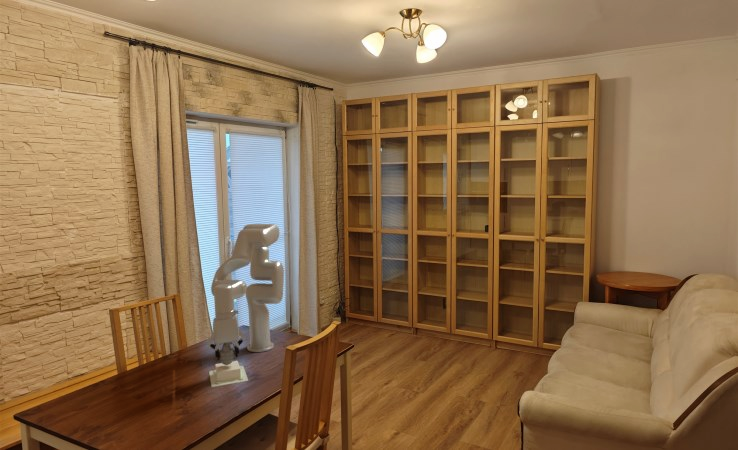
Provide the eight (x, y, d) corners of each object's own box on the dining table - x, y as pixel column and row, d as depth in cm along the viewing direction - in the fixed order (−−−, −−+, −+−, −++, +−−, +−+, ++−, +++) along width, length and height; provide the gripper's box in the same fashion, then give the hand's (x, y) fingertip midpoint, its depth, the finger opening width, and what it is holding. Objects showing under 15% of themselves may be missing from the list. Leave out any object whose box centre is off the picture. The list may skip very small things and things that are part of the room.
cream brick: (215, 373, 198) (215, 364, 197) (238, 369, 201) (237, 360, 201) (217, 382, 189) (217, 372, 189) (240, 378, 193) (240, 368, 192)
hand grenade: (221, 368, 191) (219, 342, 189) (218, 363, 196) (216, 337, 195) (237, 365, 194) (236, 339, 192) (234, 360, 199) (233, 334, 198)
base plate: (209, 374, 200) (208, 370, 200) (243, 368, 205) (243, 364, 205) (211, 390, 185) (211, 386, 185) (248, 384, 191) (248, 379, 190)
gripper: (245, 309, 199) (247, 350, 201) (201, 315, 193) (204, 357, 195) (248, 314, 192) (250, 357, 194) (202, 320, 186) (205, 364, 188)
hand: (227, 356), depth 195 cm, fingers closed on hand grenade, 6 cm apart
